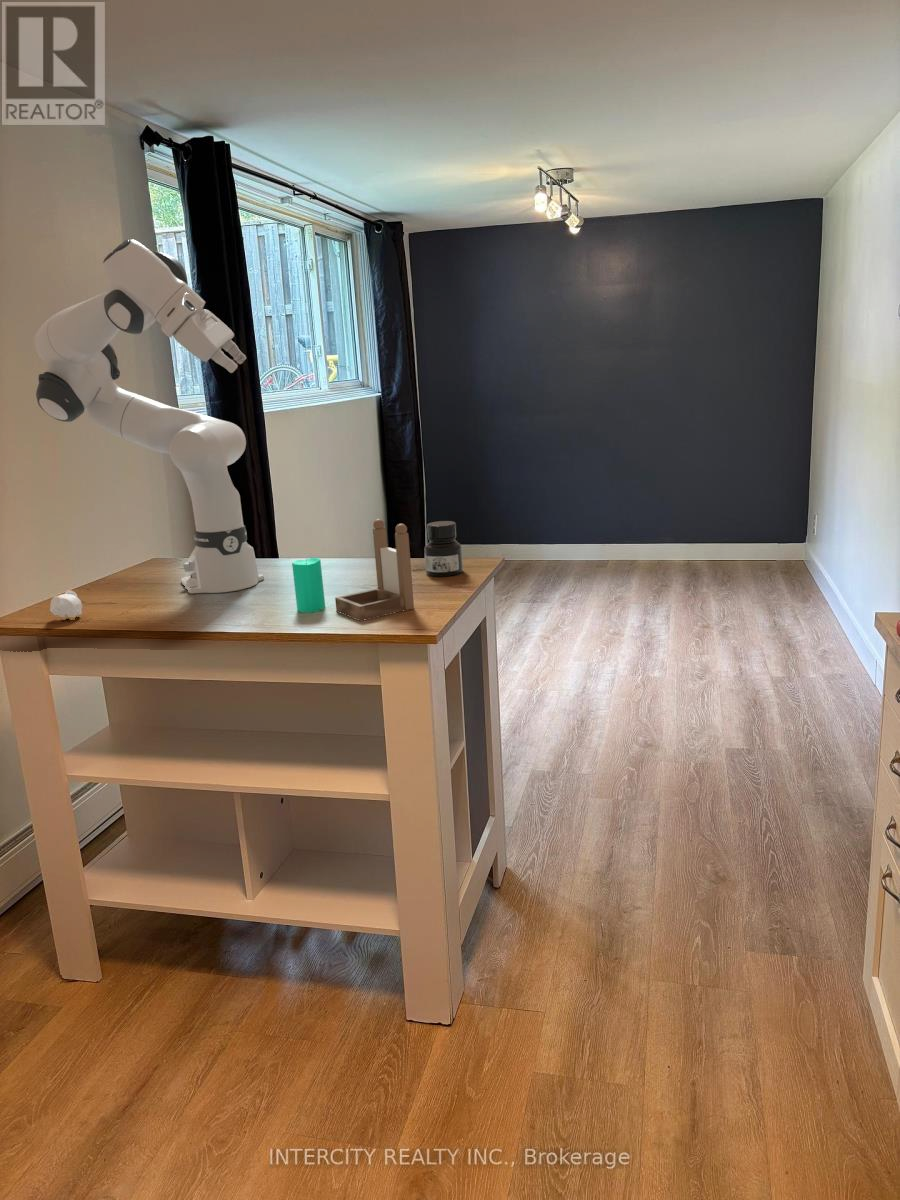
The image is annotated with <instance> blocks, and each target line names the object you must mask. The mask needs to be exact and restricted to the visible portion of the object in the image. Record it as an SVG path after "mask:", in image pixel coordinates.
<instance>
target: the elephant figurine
mask: <svg viewBox="0 0 900 1200" xmlns="http://www.w3.org/2000/svg"><path fill="white" fill-rule="evenodd" d="M49 612H50V613H52V614H53V615H55V616H56V615H58V616H59V618H60V617H66V616H68V617H75V616H76V615H79V614H81V615H82V612H83V602H82V601H81V599H80V598H78V594H77V593H76V592H75V591H74V590H70V589H69V590H66V591H65V592H64V593H63V594H60V595H55V596H53V597H52V598H51V601H50V609H49Z"/></svg>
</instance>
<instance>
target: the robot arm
mask: <svg viewBox="0 0 900 1200" xmlns="http://www.w3.org/2000/svg"><path fill="white" fill-rule="evenodd" d="M102 268H103V270H104V272H105V274H106V278H107V287H106V291H104V292H102V293H100V294H97V295H95V296H93V297H90V298H89V299H86V300H84V301H81V302H78V303H76V304H73V305H71V306H69V307H66V308H64V309H63V310H61V311H58V312H57V313H55V314H53V315H52V316H50V317H49V318H48V319H47V320H46V321H45V322H44V323H43V324H42V325H41V326H40V327H39V328H38V330H37V332H36V334H35V336H34V340H33V341H34V343H33V344H34V349H35V351H36V353H37V356H38V357H39V358H40V360H42V361H43V363H45V364H46V369H45V372H43V373H40V374H38V384H37V389H36V391H35V395H36V396H35V397H36V401H37V404H38V407H40V409H41V410H42V411H43V412H44V413H46V414H47V415H49V416H50V417H51V418H53V419H55V420H57V421H60V422H64V423H65V422H66V423H70V422H73V421H75V420H77V419H78V418H79V417H80V416H82V414H84V412H85V410H86V414H87V417H88V419H89V421H90V422H91V423H93V425H96V427H99V428H100V429H102V430H103V431H105V432H107V433H109V434H111V435H113V436H116V437H117V438H118V439H119V438H120V439H122V440H124V441H128V442H130V443H132V444H136V445H138V446H140V447H143V448H146V449H149V450H150V451H154V452H155V453H156V452H157V453H162V454H163V453H164V454H169V458H170V459H171V462H172V463H173V465H174V467H176V468H177V469H179V471H180V473H181V475H182V477H183V480H184V482H185V485H186V487H187V490H188V492H189V495H190V501H191V504H192V513H193V520H194V525H195V530H194V535H193V539H194V545H195V547H194V549H193V550H192V552H191V554H190V556H189V557H188V559H187V562H184V563H183V569H184V570H183V571H184V572H185V573H189V575H187V576H184V577H181V578H180V582H182V583H181V584H182V586H183V585H184V586H185V587H184V586H183V587H184V588H185V590H186V589H187V590H188V591H187V590H186V591H187V593H188V594H201V593H202V594H203V593H204V594H208V593H209V594H214V593H215V594H217V593H227V592H228V593H229V592H235V591H242V590H245V589H247V588H251V587H253V586H256V585H257V584H258V583H259V582H260V581H261V582H262V581H263V580H265V576H264V574H262V573H259V570H258V565H257V559H256V555H255V550H254V547H253V546H251V545H250V544H249V543H248V542H247V540H248V535H247V534H248V533H247V529H246V525H245V524H244V518H243V510H242V503H241V495H240V493H239V491H238V489H237V488H236V487H235V486H234V483H233V481H232V479H231V476H230V474H229V473H230V472H229V471H228V466H230V465H232V464H234V463H236V461H238V460H239V459H240V458H241V456H242V455H243V454H244V452H245V450H246V448H247V447H246V445H247V440H246V436H245V433H244V431H243V429H242V428H241V427H240V426H238V425H237V424H235V423H233V422H231V421H228V420H223V419H220V418H216V417H213V416H209V415H205V414H201V413H198V412H195V411H190V410H187V409H181V408H179V407H174V406H171V405H168V404H166V403H163V402H160V401H157V400H154V399H152V398H149V397H146V396H144V395H141V394H138V393H136V392H132V391H129V390H126V389H124V388H121V387H120V386H119V385H118V384H116V382H115V380H117V379H119V378H120V375H121V371H120V369H119V367H118V366H119V364H118V363H119V362H118V357H117V354H116V350H115V349H114V347H113V346H112V345H111V343H110V342H111V341H112V340H113V339H114V338H115V337H116V335H117V334H118V333H119V332H120V331H122V332H125V333H126V334H132V335H139V334H141V333H143V332H145V331H147V330H148V329H149V328H150V327H151V326H152V325H154V324H155V322H156V321H157V322H158V323H159V324H160V330H161V331H162V333H163V334H165V336H167V337H168V338H172V337H173V338H174V340H175V341H176V342H177V343H179V344H180V345H181V346H182V347H183V348H184V349H185V350H187V352H189V353H191V355H193V356H195V357H196V358H197V359H199V361H200V360H201V362H204V363H206V362H208V361H209V360H210V359H211V360H212V361H214V362H215V363H216V364H218V365H220V366H221V367H223V368H224V369H226V370H227V371H228V372H229V373H230V374H232V373H234V372H235V371H236V370H237V369H238V366H239V365H242V364H243V363H244V362H245V360H247V356H246V355H245V354H244V353H243V352H242V351H241V350H240V349H239V346H238V345H237V344H236V342H234V341H233V340H232V339H233V338H234V337H235V333H234V332H233V331H232V329H231V328H230V327H228V325H227V324H225V323H224V322H223V321H222V320H221V319H220V318H219V317H217V316H216V315H215V314H214V313H213V312H212V311H210V310H209V309H204V306H205V304H206V301H205V300H204V299H203V298H202V297H201V296H200V295H199V294H198V293H197V292H196V291H194V289H192V288H191V287H190V286H189V282H188V281H189V280H188V275H187V273H186V270H185V267H184V266H183V264H182V263H181V262H180V261H179V260H178V259H176V258H175V257H174V256H172V255H169V254H168V253H166V252H165V253H164V252H160V251H151V250H150V249H149V248H147V247H146V246H145V245H143V244H142V243H141V242H139V241H138V240H135V239H132V238H130V239H126V240H124V241H122V242H121V243H120V244H119V245H118V246H116V247H115V249H113V250H112V251H111V252H109V254H107V255H106V256H105V258H104V259H103V261H102ZM222 349H223V350H224V351H225V352H227V353H228V354H229V355H230V356H231V357H232V358H233V359H232V358H230V357H228V356H227V355H226V354H225V353H224V351H223V350H222ZM238 364H239V365H238Z"/></svg>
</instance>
